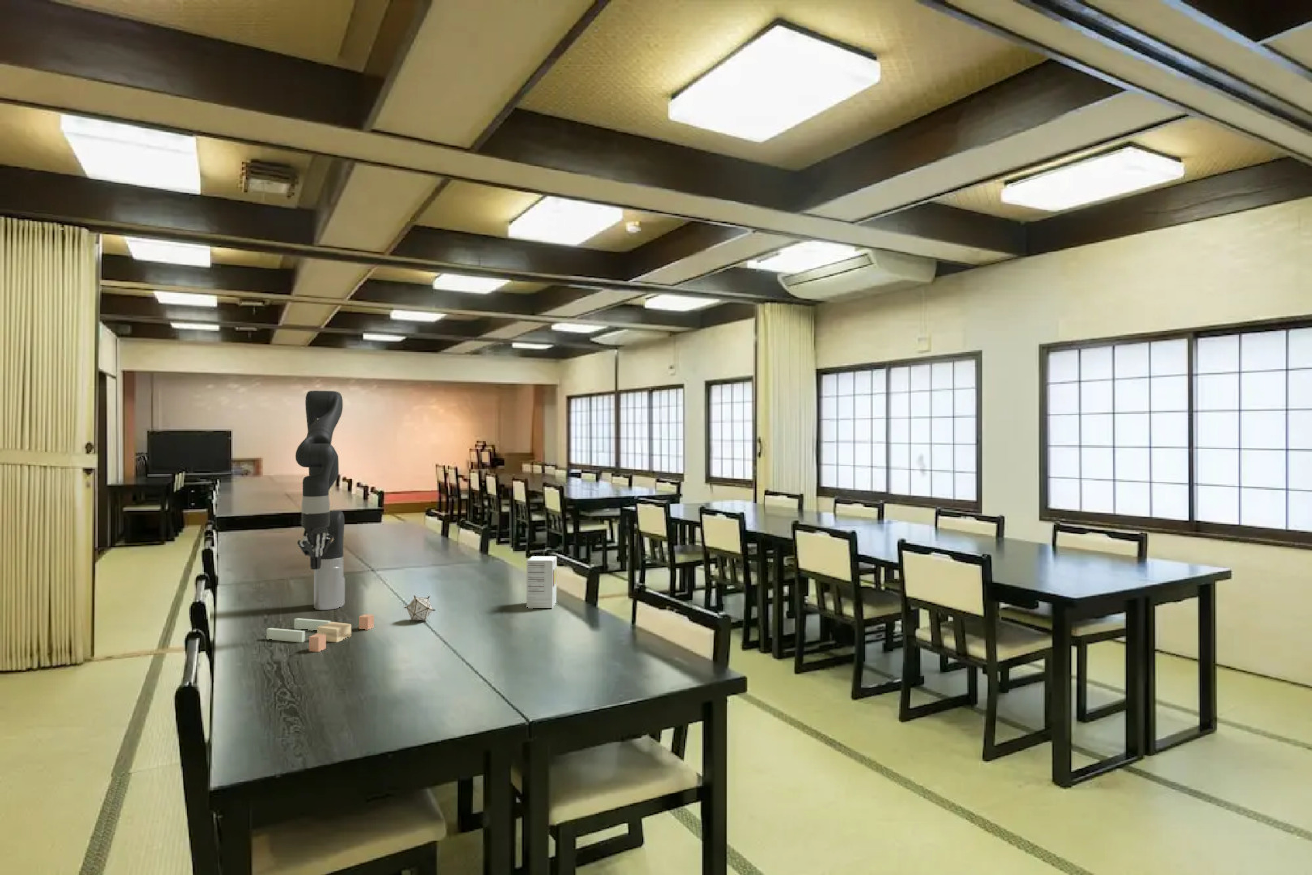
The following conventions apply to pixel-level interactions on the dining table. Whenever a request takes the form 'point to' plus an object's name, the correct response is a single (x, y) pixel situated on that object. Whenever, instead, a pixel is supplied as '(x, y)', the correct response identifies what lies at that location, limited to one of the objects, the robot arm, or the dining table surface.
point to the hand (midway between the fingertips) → (315, 568)
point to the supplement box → (541, 581)
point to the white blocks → (295, 634)
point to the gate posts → (319, 640)
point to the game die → (419, 608)
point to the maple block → (335, 631)
